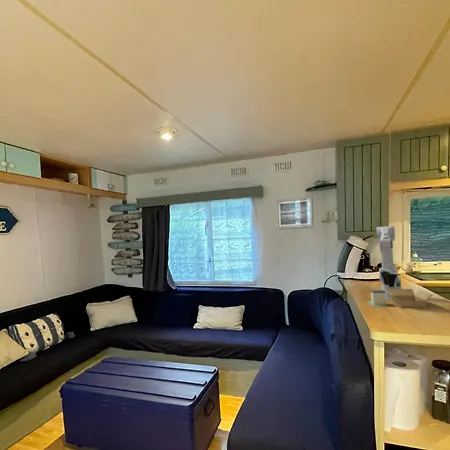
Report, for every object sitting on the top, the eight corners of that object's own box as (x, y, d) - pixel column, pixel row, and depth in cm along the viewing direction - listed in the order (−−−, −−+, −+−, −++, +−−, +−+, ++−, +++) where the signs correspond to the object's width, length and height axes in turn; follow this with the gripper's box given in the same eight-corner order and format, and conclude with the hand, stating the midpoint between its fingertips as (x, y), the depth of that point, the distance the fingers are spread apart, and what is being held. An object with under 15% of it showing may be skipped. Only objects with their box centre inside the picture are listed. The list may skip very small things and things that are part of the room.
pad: (367, 302, 166) (367, 301, 166) (382, 302, 164) (382, 301, 164) (372, 307, 154) (372, 305, 154) (389, 307, 153) (389, 306, 153)
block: (371, 302, 162) (370, 289, 163) (383, 302, 161) (382, 289, 161) (373, 304, 158) (372, 291, 158) (386, 304, 156) (385, 291, 157)
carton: (383, 300, 168) (382, 289, 169) (418, 300, 164) (417, 288, 165) (394, 307, 151) (393, 295, 151) (433, 308, 147) (432, 294, 147)
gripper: (375, 260, 170) (377, 284, 169) (383, 262, 156) (385, 288, 155) (389, 259, 168) (391, 283, 168) (398, 261, 154) (400, 288, 154)
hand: (389, 285), depth 161 cm, fingers open, 7 cm apart
